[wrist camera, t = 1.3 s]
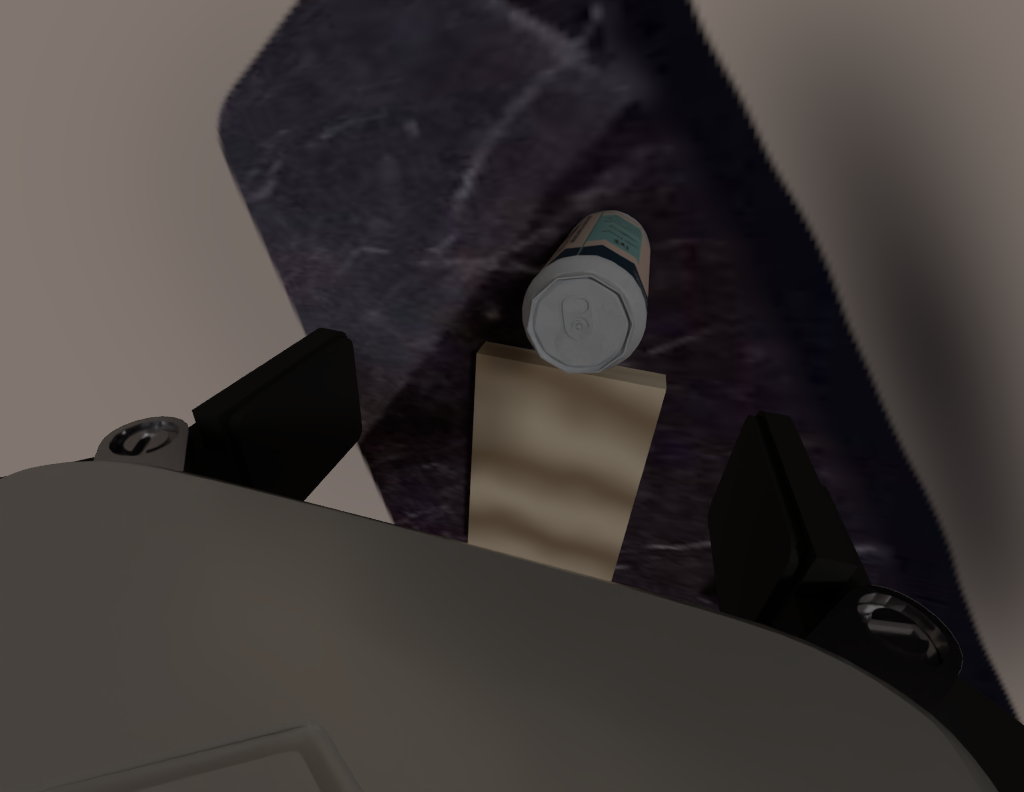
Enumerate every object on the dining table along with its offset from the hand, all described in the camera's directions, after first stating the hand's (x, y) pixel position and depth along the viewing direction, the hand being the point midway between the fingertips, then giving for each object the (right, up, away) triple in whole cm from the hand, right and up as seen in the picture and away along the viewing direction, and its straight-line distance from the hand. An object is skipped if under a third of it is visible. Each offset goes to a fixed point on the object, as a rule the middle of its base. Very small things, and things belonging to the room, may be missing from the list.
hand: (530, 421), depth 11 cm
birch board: (+3, -5, +25) cm, 25 cm away
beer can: (+5, +9, +16) cm, 20 cm away
